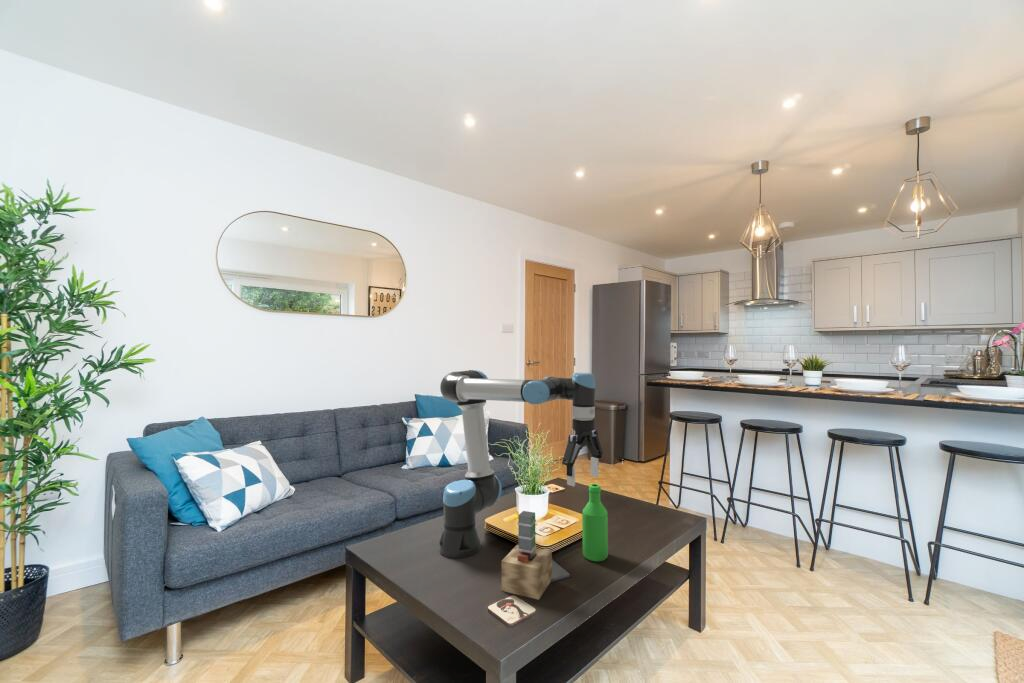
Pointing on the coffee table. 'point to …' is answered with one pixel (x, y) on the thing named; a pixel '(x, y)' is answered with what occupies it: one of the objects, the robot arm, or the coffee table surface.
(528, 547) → the column
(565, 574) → the smartphone
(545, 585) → the housing
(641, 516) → the coffee table surface
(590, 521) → the bottle
